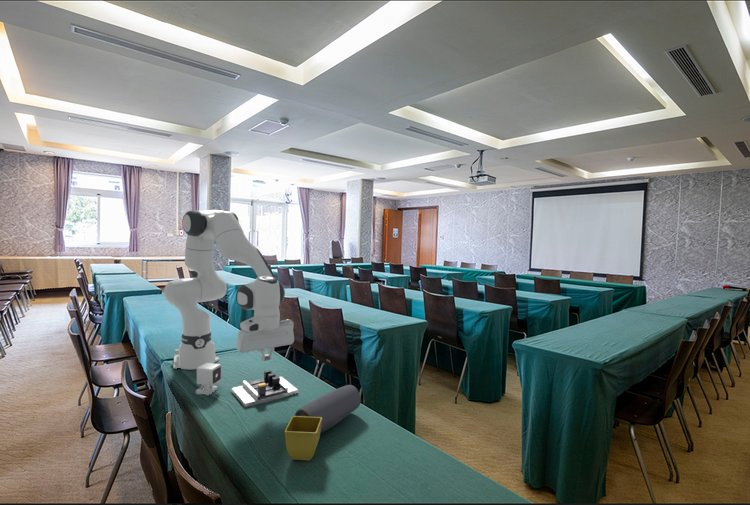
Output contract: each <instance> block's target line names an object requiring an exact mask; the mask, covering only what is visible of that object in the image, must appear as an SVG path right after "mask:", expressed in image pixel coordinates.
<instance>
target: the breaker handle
mask: <svg viewBox="0 0 750 505" xmlns="http://www.w3.org/2000/svg"><path fill="white" fill-rule="evenodd" d="M258 394H259V395H264V394H266V384H265V383H260V384H258Z"/></svg>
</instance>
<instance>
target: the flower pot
mask: <svg viewBox="0 0 750 505" xmlns="http://www.w3.org/2000/svg"><path fill="white" fill-rule="evenodd" d="M321 424H322V417H305V416H295V415H293V416H291V418H290V420H289V421H288V424H287V425H286V427H285V429H284V438H285V448H286V451H287V453H288V455H289V457H290V458H291V460H292V461H293V460H294V461H295V460H296V461H311V460H312V459H313V457H314V455H315V452H316V449H317V446H318V443H319V440H320V437H321V433H322V432H321ZM320 432H321V433H320Z"/></svg>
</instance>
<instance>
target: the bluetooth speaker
mask: <svg viewBox="0 0 750 505" xmlns="http://www.w3.org/2000/svg"><path fill="white" fill-rule="evenodd" d="M361 401H362V398H361V394H360V392H359V389H358V388H357V387H356V386H355V385H352V384H347V385H344V386H341V387H338V388H336V389H333V390H332V391H329V392H328V393H327V392H326V393H325V394H323V395H321V396H319V397H317V398H316V399H314V400H311V401H309V402H308V403H307V404H305V405H303V406H301V407H300V408H298V409H297V410H296V411H295V413H294V416H305V417H322V424H321V433H324V432H326V431H328V430H330V429H331V428H333V427H335V426H336V425H338V424H339V423H340V422H341V421H342V420H343V419H344V418H346V417H348V415H350V414H351V413H353V412H354V411H355V410H357V409H358V408H359V407H360V405H361ZM337 423H338V424H337ZM329 428H330V429H329ZM327 429H328V430H327ZM325 430H326V431H325ZM323 431H324V432H323Z"/></svg>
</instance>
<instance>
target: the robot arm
mask: <svg viewBox="0 0 750 505" xmlns="http://www.w3.org/2000/svg"><path fill="white" fill-rule="evenodd" d="M181 222H182V229H183V231H184V233H185V234H186V239H185V249H184V250H185V252H184V264H185V266H186V267H187V268H188V269H189V270H191V271H194V272H196V273H197V276H195V277H187V278H183V277H182V278H178V279H174V280H170V281H168V282H167V283H166V285H165V286H164V289H163V295H164V298H165V300H166V301H167V302H168V303H169V304H171V305H173V306H174V307H175V308H176V309H177V310H178V312H179V313H180V316H181V320H182V334H181V340H180V341H181V343H180V344H179V348H177V349H176V348H175V349H174V356H173V366H172V368H173V369H176V370H177V368H181V369H182V370H189V371H190V370H197V368H198V367H200V366H201V365H203V364H205V363H213V364H216V362H218V361H220V357H219V356H216V344H215V343H214V341H212V337H213V336H212V331H211V316H210V313H208V311H206V310H204V309H200V308H198V305H197V304H198V303H204V302H212V301H216V300H219V299H222V298H224V297H225V295H226V293H227V290H228V285H227V283H226V281H225V280H224V278H222V277H221V276H219V274H218V273H217V271H216V269H215V267H214V247H215V245H216V247H217V250H218V252H219V253H220V254H221V256H223V257H224V258H226V259H227V260H231V261H235V262H239V263H243V264H244V265H245V264H246V265H247V266H249V267H250V268H251V269H252V270H253V272H254V273H255V274H256V276H257V277H256V279H254V280H253V281H252V282H249V283H245V284H242V285H240V286H239V287H238V289H237V292H236V293H235V294H236V296H235V300H236V304H237V305H238V306H239V307H240V308H241V309H242V310H246V311H250V310H253V311H254V312H253V316H252V317H250V318H248V319H245V320H244V321H241V322H240V324H239V327H240V330H239V332H238V333H237V334H238V335H237V339H236V349H237V351H239V353H241V354H244V353H249V352H257V351H258V352H259V354H260V355H261V361H262V362H265V361H271V360H272V355H273V353H274V351H275V348H278V347H283V346H288V345H293V343H294V342H295V335H294V326H295V325H294V321H293V320H292V319H289V318H287V319H282V320H280V317H281V314H280V313H281V312H280V308H279V306H280V305H281V304H282V303H283V301H284V299H285V295H286V291H285V288H284V285H283V284H282V283H281V282H280V281H279V280H278V278H277V277H276V276H275V274H274V272H273V271H272V269H271V267H270V266H269V264H268V262H267V261H266V259H265V257H264V256H263V254H262V253H261V251H260V250H259V249H258V248H257V247H256V246H255V245H253V244H252V243H251V242H250V240H249V239H248V238H247V237H246V234H245V232H244V230H243V228H242V226H241V224H240V221H239V217H238V215H237V214H236V213H235V212H233V211H230V210H219V209H203V210H197V209H194V210H192V209H191V210H188V211H187V212H185V213H184V215H183V217H182V221H181ZM266 349H267V350H269V351H268V352H267V353H266V354H265V350H266ZM181 369H180V370H181Z"/></svg>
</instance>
